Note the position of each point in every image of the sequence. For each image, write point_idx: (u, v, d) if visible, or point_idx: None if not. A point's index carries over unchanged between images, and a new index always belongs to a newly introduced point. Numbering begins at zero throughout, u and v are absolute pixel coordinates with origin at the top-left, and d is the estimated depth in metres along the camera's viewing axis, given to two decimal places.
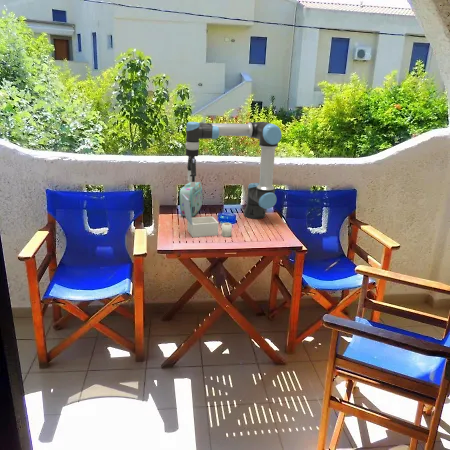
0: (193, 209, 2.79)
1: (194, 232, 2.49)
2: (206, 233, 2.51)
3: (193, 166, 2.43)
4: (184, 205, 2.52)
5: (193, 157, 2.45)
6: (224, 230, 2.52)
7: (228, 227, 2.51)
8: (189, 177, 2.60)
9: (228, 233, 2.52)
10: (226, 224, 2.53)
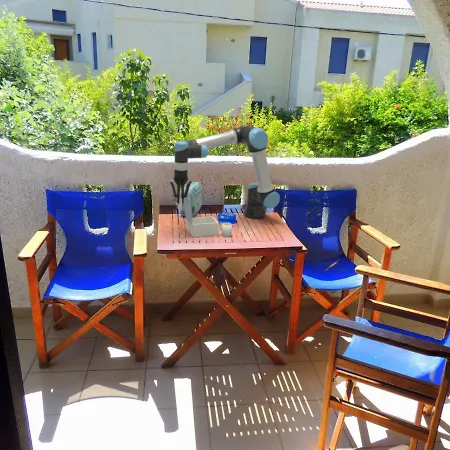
0: (193, 209, 2.79)
1: (194, 232, 2.49)
2: (206, 233, 2.51)
3: (172, 188, 2.41)
4: (185, 205, 2.52)
5: (174, 176, 2.39)
6: (224, 230, 2.52)
7: (228, 227, 2.51)
8: None
9: (228, 233, 2.52)
10: (226, 224, 2.53)
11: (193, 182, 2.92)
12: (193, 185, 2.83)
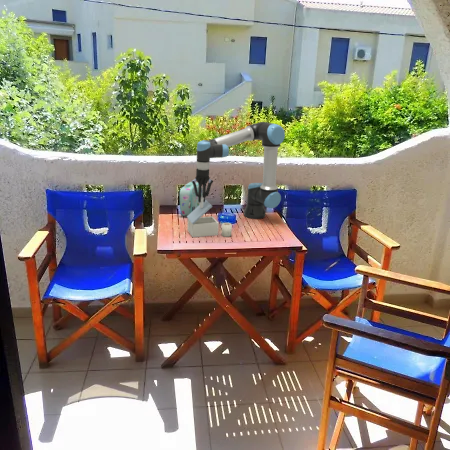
0: (193, 209, 2.79)
1: (194, 232, 2.49)
2: (206, 233, 2.51)
3: (194, 187, 2.46)
4: (198, 207, 2.55)
5: (196, 176, 2.43)
6: (224, 230, 2.52)
7: (228, 227, 2.51)
8: None
9: (228, 233, 2.52)
10: (226, 224, 2.53)
11: None
12: None
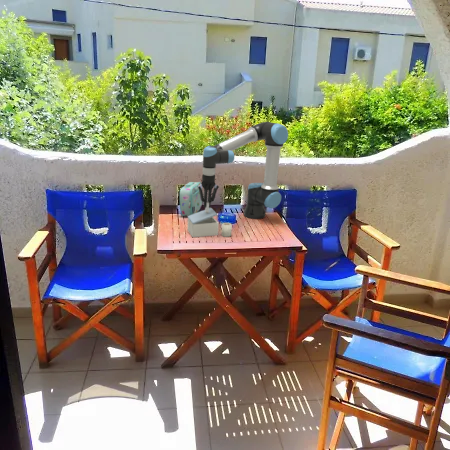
0: (193, 209, 2.79)
1: (194, 232, 2.49)
2: (206, 233, 2.51)
3: (200, 192, 2.48)
4: (201, 212, 2.57)
5: (202, 181, 2.46)
6: (224, 230, 2.52)
7: (228, 227, 2.51)
8: None
9: (228, 233, 2.52)
10: (226, 224, 2.53)
11: (193, 182, 2.92)
12: (193, 185, 2.83)
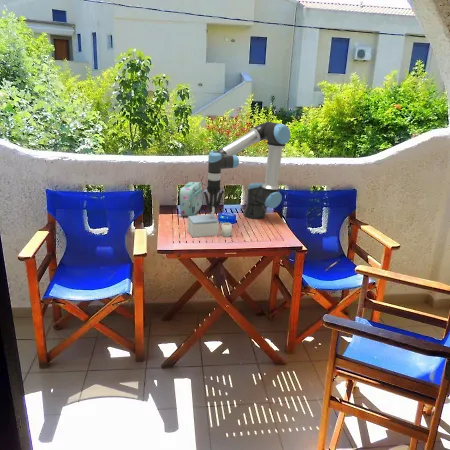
0: (193, 209, 2.79)
1: (194, 232, 2.49)
2: (206, 233, 2.51)
3: (205, 197, 2.50)
4: (202, 215, 2.58)
5: (208, 186, 2.48)
6: (224, 230, 2.52)
7: (228, 227, 2.51)
8: None
9: (228, 233, 2.52)
10: (226, 224, 2.53)
11: (193, 182, 2.92)
12: (193, 185, 2.83)
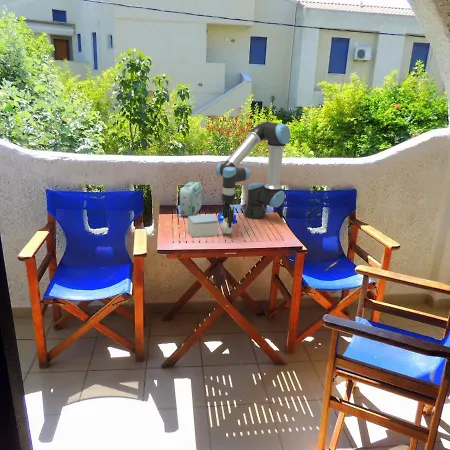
0: (193, 209, 2.79)
1: (194, 232, 2.49)
2: (206, 233, 2.51)
3: (231, 213, 2.45)
4: (202, 215, 2.58)
5: (231, 202, 2.45)
6: (224, 227, 2.51)
7: None
8: None
9: None
10: (227, 221, 2.52)
11: (193, 182, 2.92)
12: (193, 185, 2.83)
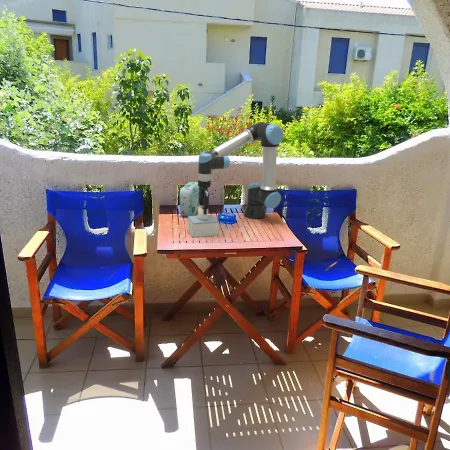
0: (193, 209, 2.79)
1: (194, 232, 2.49)
2: (206, 233, 2.51)
3: (206, 200, 2.44)
4: None
5: (206, 188, 2.44)
6: (200, 213, 2.50)
7: None
8: None
9: None
10: (202, 207, 2.51)
11: (193, 182, 2.92)
12: (193, 185, 2.83)
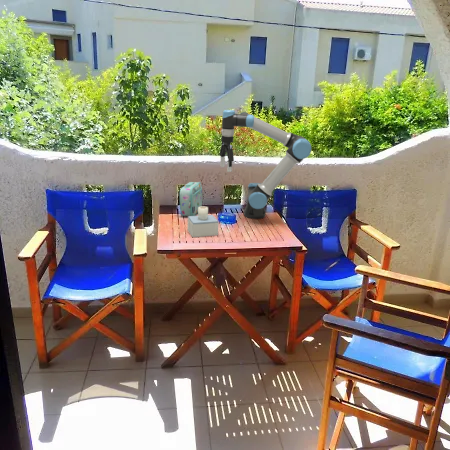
0: (193, 209, 2.79)
1: (194, 232, 2.49)
2: (206, 233, 2.51)
3: (230, 152, 2.57)
4: None
5: (229, 143, 2.60)
6: (200, 213, 2.50)
7: (204, 210, 2.49)
8: (222, 163, 2.73)
9: (204, 216, 2.51)
10: (202, 207, 2.51)
11: (193, 182, 2.92)
12: (193, 185, 2.83)
